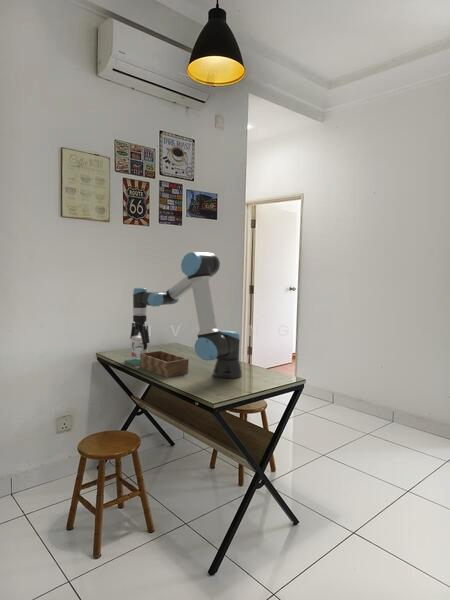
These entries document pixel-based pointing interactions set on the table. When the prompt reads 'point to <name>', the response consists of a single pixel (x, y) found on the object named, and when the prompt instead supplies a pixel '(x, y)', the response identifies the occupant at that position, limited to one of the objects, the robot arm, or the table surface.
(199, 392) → the table surface
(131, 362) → the zone mat
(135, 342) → the ink box
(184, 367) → the crate
